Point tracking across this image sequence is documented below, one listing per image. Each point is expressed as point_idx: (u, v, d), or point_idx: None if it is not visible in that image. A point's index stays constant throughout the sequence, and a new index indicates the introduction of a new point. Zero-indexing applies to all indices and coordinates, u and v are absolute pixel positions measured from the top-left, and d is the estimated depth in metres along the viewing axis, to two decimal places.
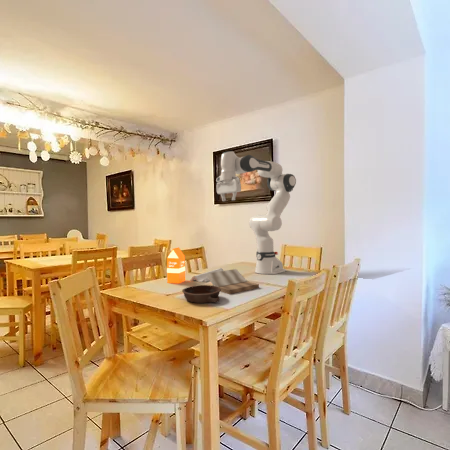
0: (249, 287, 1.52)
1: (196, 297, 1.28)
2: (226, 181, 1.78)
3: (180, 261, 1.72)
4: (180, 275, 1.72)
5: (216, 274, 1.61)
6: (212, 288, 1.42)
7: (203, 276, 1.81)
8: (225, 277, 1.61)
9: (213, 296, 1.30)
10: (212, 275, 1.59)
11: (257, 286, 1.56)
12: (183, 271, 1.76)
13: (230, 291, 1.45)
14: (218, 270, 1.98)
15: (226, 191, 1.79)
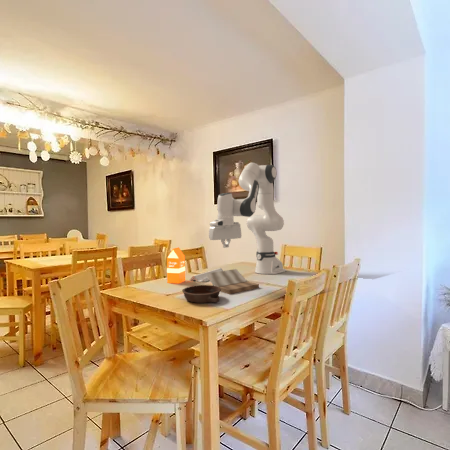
0: (249, 287, 1.52)
1: (196, 296, 1.28)
2: (230, 226, 1.61)
3: (180, 261, 1.72)
4: (180, 275, 1.72)
5: (216, 274, 1.61)
6: (212, 288, 1.42)
7: (202, 276, 1.81)
8: (225, 277, 1.61)
9: (213, 296, 1.30)
10: (212, 275, 1.59)
11: (257, 286, 1.56)
12: (183, 271, 1.76)
13: (230, 291, 1.45)
14: (217, 270, 1.98)
15: (228, 237, 1.61)
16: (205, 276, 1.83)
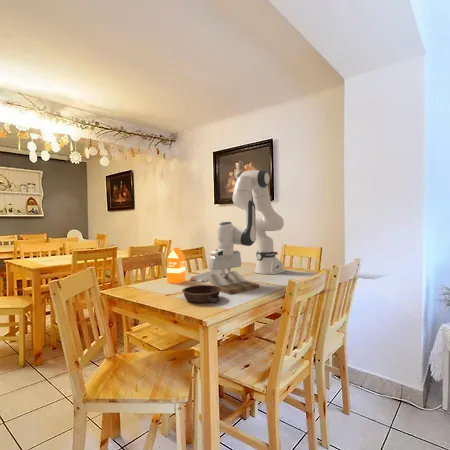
0: (249, 287, 1.52)
1: (196, 296, 1.28)
2: (230, 256, 1.61)
3: (180, 261, 1.72)
4: (180, 275, 1.72)
5: (216, 276, 1.61)
6: (212, 288, 1.42)
7: (202, 276, 1.82)
8: (225, 278, 1.61)
9: (213, 296, 1.30)
10: (212, 276, 1.59)
11: (257, 286, 1.56)
12: (183, 271, 1.76)
13: (230, 291, 1.45)
14: (217, 270, 1.98)
15: (227, 266, 1.61)
16: (204, 276, 1.84)
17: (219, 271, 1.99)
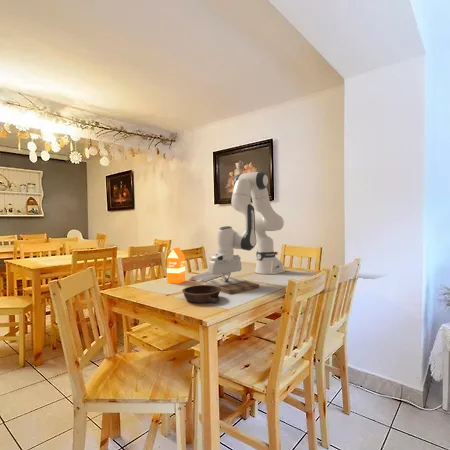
0: (249, 287, 1.52)
1: (196, 296, 1.28)
2: (230, 260, 1.61)
3: (180, 261, 1.72)
4: (180, 275, 1.72)
5: (215, 281, 1.62)
6: (212, 288, 1.42)
7: (201, 276, 1.82)
8: (224, 281, 1.62)
9: (213, 296, 1.30)
10: (211, 282, 1.60)
11: (257, 286, 1.56)
12: (183, 271, 1.76)
13: (230, 291, 1.45)
14: None
15: (227, 271, 1.61)
16: (204, 276, 1.84)
17: None
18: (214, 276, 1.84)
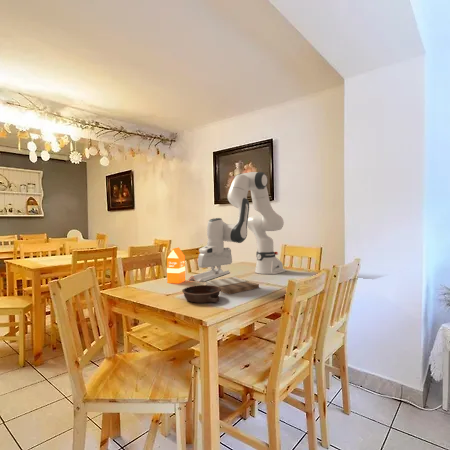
0: (249, 287, 1.52)
1: (196, 296, 1.28)
2: (220, 253, 1.57)
3: (180, 261, 1.72)
4: (180, 275, 1.72)
5: (215, 281, 1.62)
6: (212, 288, 1.42)
7: (201, 276, 1.82)
8: (224, 281, 1.62)
9: (213, 296, 1.30)
10: (211, 282, 1.60)
11: (257, 286, 1.56)
12: (183, 271, 1.76)
13: (230, 291, 1.45)
14: None
15: (218, 264, 1.57)
16: (204, 276, 1.84)
17: (219, 271, 1.99)
18: (214, 276, 1.84)
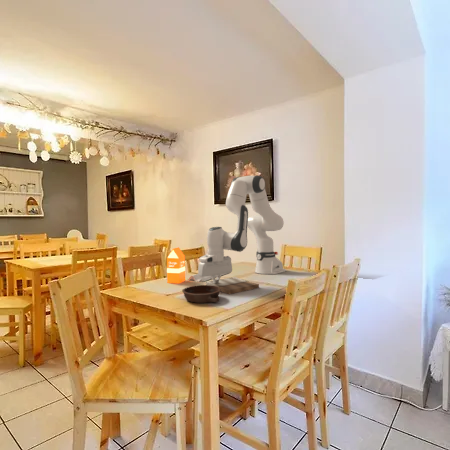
0: (249, 287, 1.52)
1: (196, 296, 1.28)
2: (220, 262, 1.57)
3: (180, 261, 1.72)
4: (180, 275, 1.72)
5: None
6: (212, 288, 1.42)
7: None
8: (224, 281, 1.62)
9: (213, 296, 1.30)
10: (211, 282, 1.60)
11: (257, 286, 1.56)
12: (183, 271, 1.76)
13: (230, 291, 1.45)
14: None
15: (218, 273, 1.57)
16: None
17: None
18: None
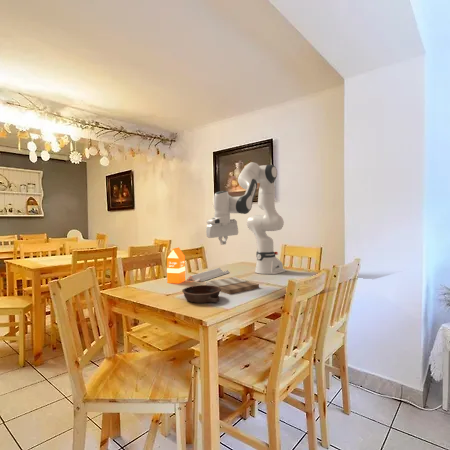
0: (249, 287, 1.52)
1: (196, 297, 1.28)
2: (227, 224, 1.64)
3: (180, 261, 1.72)
4: (180, 275, 1.72)
5: (215, 281, 1.62)
6: (212, 288, 1.42)
7: (200, 276, 1.83)
8: (224, 281, 1.62)
9: (213, 296, 1.30)
10: (211, 282, 1.60)
11: (257, 286, 1.56)
12: (183, 271, 1.76)
13: (230, 291, 1.45)
14: (216, 270, 1.99)
15: (225, 234, 1.65)
16: (203, 276, 1.84)
17: (218, 271, 1.99)
18: (213, 276, 1.84)
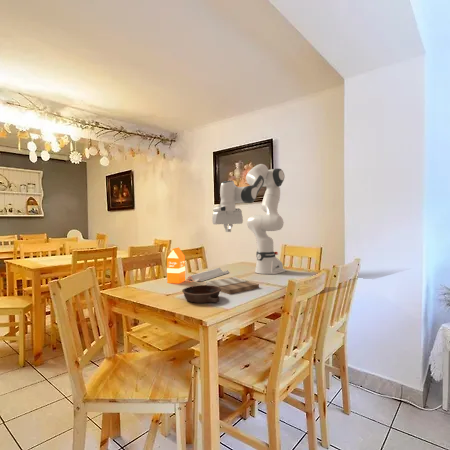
0: (249, 287, 1.52)
1: (196, 297, 1.28)
2: (232, 212, 1.72)
3: (180, 261, 1.72)
4: (180, 275, 1.72)
5: (215, 281, 1.62)
6: (212, 288, 1.42)
7: (199, 276, 1.83)
8: (224, 281, 1.62)
9: (213, 296, 1.30)
10: (211, 282, 1.60)
11: (257, 286, 1.56)
12: (183, 271, 1.76)
13: (230, 291, 1.45)
14: (216, 270, 1.99)
15: (230, 222, 1.72)
16: (202, 276, 1.85)
17: (218, 271, 1.99)
18: (212, 276, 1.84)
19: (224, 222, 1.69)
